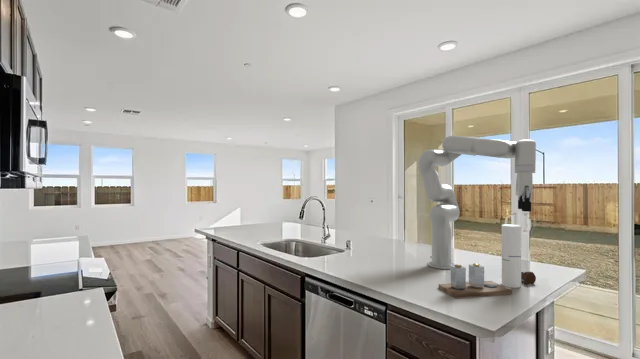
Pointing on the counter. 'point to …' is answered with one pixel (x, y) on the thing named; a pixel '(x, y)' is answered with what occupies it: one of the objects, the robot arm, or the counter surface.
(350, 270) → the counter surface
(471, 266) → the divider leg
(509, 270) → the cylindrical container
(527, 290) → the counter surface
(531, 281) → the brown knobbed rod
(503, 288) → the wooden tray with canisters
